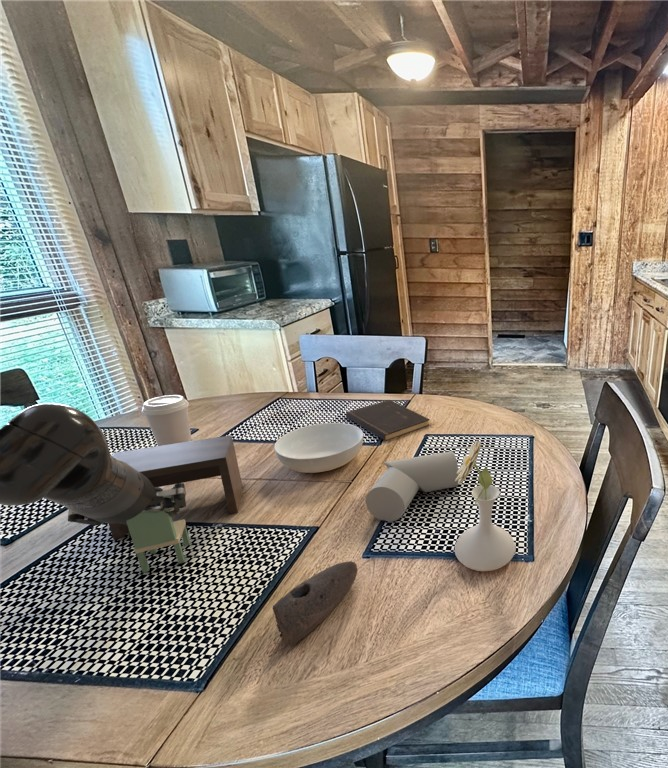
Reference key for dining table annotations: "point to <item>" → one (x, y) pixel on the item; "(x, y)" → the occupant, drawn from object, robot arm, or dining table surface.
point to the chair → (156, 535)
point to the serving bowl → (319, 447)
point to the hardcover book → (388, 419)
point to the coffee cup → (168, 419)
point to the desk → (186, 468)
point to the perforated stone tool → (312, 601)
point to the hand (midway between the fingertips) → (152, 513)
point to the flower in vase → (483, 524)
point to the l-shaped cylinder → (410, 483)
